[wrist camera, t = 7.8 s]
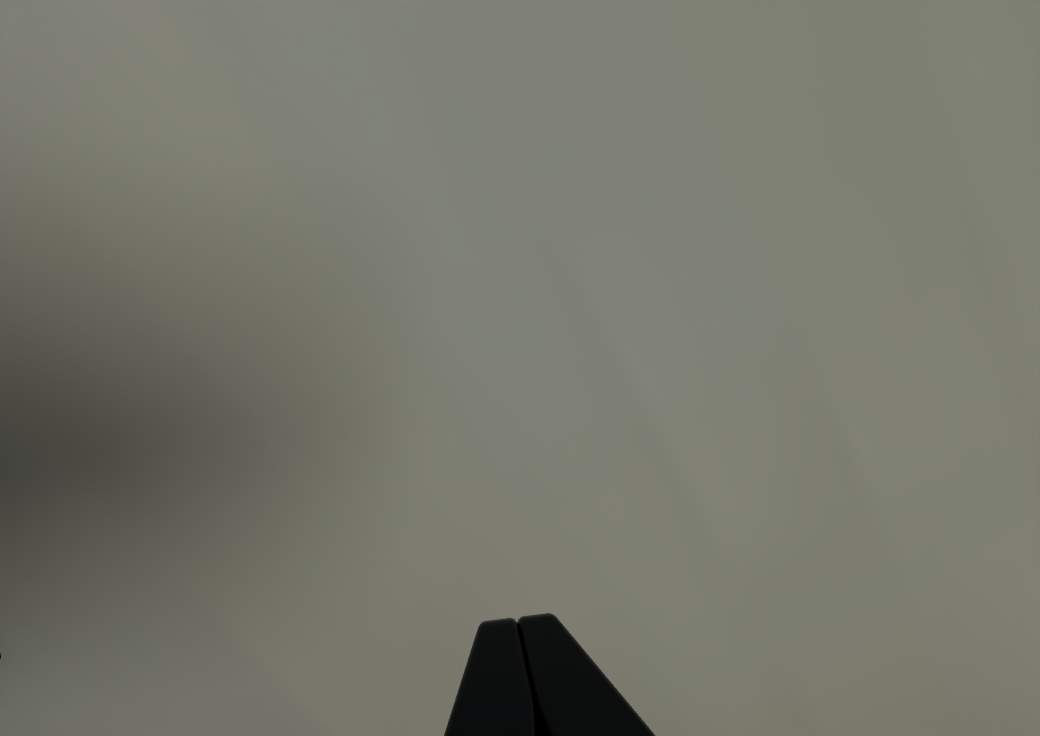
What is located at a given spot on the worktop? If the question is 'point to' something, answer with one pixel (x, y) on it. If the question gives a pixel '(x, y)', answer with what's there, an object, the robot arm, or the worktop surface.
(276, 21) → the worktop surface
